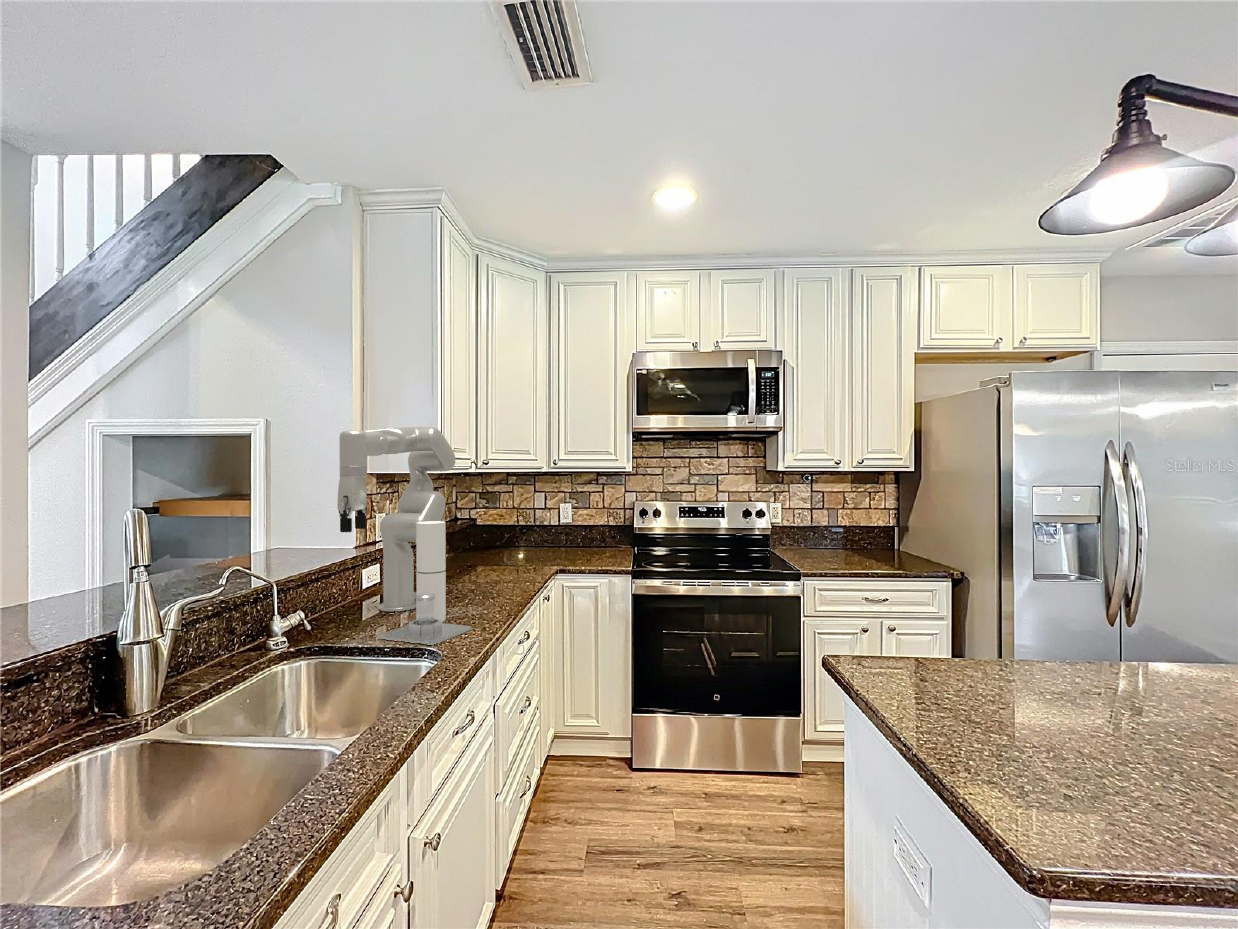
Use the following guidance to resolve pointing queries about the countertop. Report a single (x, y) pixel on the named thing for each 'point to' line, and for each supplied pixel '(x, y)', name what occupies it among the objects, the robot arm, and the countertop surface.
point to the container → (432, 563)
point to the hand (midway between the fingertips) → (353, 530)
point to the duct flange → (425, 632)
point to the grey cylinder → (425, 609)
